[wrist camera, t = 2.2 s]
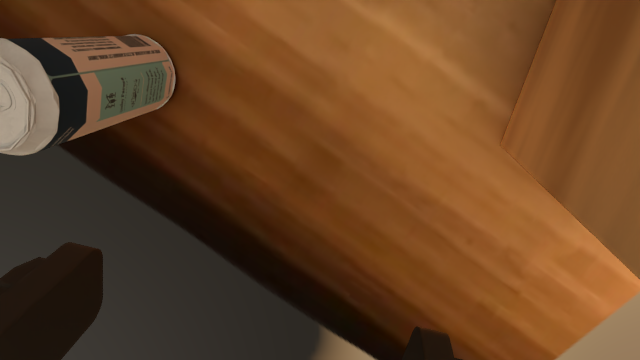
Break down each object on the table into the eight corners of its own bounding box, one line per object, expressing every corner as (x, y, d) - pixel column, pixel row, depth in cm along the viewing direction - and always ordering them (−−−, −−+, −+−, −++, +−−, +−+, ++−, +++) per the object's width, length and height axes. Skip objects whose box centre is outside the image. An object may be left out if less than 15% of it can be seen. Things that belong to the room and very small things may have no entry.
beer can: (95, 50, 28) (-99, 64, 16) (157, 22, 26) (-6, 16, 15) (130, 119, 29) (-29, 176, 18) (191, 95, 28) (62, 140, 16)
